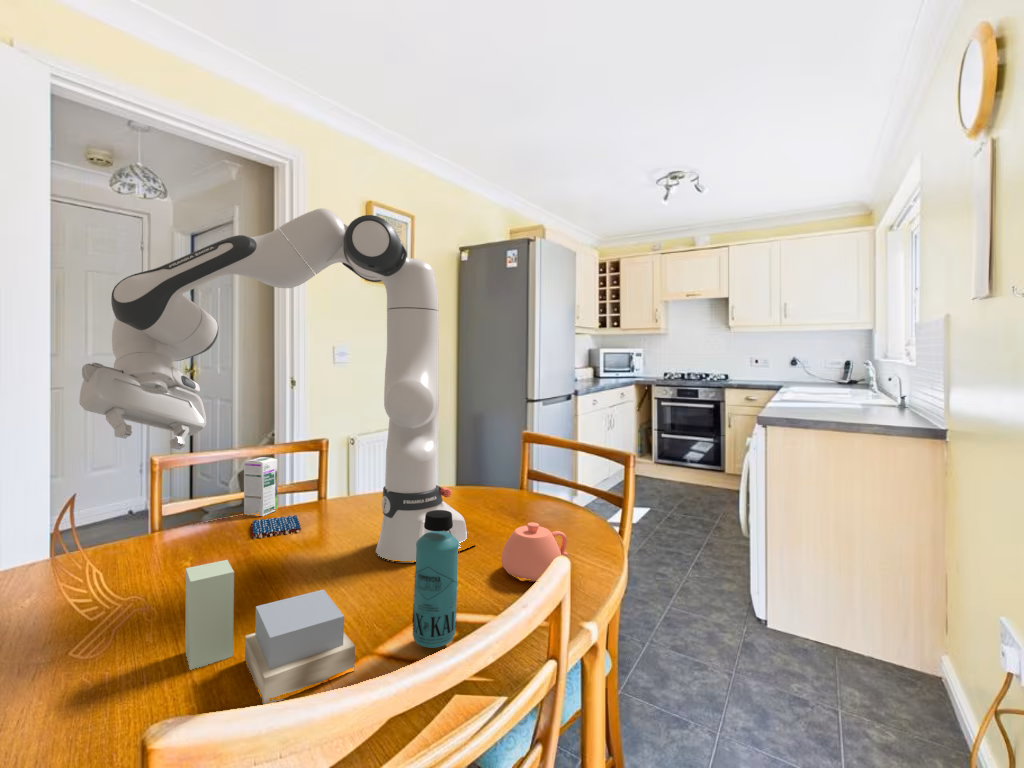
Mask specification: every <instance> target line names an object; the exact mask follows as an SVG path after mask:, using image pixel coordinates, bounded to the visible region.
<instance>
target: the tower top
mask: <svg viewBox="0 0 1024 768" xmlns="http://www.w3.org/2000/svg"><path fill="white" fill-rule="evenodd" d="M344 628H345V615H344V614H343V613H342V611H341V610H340V609H339V607H338V606H337V605H336V604H335V602H334V601H333V600H332V598H331V597H330V595H328V593H327V591H326V590H325V589H321V590H315V591H312V592H308V593H304V594H299V595H296V596H292V597H288V598H283V599H280V600H276V601H273V602H268V603H264V604H260V605H257V606H255V629H254V630H255V632H254V633H255V636H256V638H257V640H258V643H259V645H260V648H261V650H262V653H263V655H264V658H265V660H266V663H267V665H268V668H269V670H270V669H273V668H276V667H279V666H282V665H285V664H288V663H291V662H294V661H297V660H300V659H303V658H306V657H309V656H312V655H315V654H318V653H321V652H324V651H327V650H330V649H333V648H336V647H339V646H342V645H343V638H344V633H345V632H344V630H345V629H344Z"/></svg>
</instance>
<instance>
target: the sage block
mask: <svg viewBox="0 0 1024 768" xmlns="http://www.w3.org/2000/svg"><path fill="white" fill-rule="evenodd" d="M234 597H235V571H234V569H233V567H232V565H231V563H230V562H229V560H228V559H224V560H219V561H214V562H211V563H204V564H201V565H200V564H199V565H196V566H195V565H194V566H189V567H185V620H184V622H185V630H184V631H185V632H184V633H185V635H184V636H185V637H184V639H185V640H184V641H185V642H184V647H185V648H184V649H185V651H184V652H185V653H186V654H185V653H184V654H185V656H186V657H187V658H186V657H185V658H186V661H188V662H187V665H189V666H188V670H189V669H190V670H191V671H193V670H192V669H194V670H196V669H195V668H197V669H199V667H200V668H202V667H203V668H204V667H206V666H208V664H209V665H212V664H215V663H218V662H221V661H224V660H227V659H230V658H229V657H231V658H233V657H234V618H235V617H234V615H235V613H234V611H235V609H234V608H235V607H234V606H235V605H234V604H235V598H234ZM232 656H233V657H232ZM220 660H221V661H220ZM217 661H218V662H217ZM214 662H215V663H214ZM190 670H189V671H190Z"/></svg>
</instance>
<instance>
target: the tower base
mask: <svg viewBox="0 0 1024 768" xmlns="http://www.w3.org/2000/svg"><path fill="white" fill-rule="evenodd" d="M244 639H245V640H244V662H245V661H246V663H247V665H246V667H247V666H248V667H247V669H248V668H249V670H248V672H249V671H250V672H249V674H250V673H251V675H252V677H253V679H252V681H253V680H254V682H255V684H256V686H257V687H258V689H259V692H260V694H261V697H262V700H263V701H261V703H262V705H263V704H266V703H270V702H275V701H279V702H281V701H283V700H285V699H280V700H273V699H272V701H269V700H270V698H274V697H277V696H280V695H282V694H283V695H284V694H286V693H290V692H293V691H296V690H300V689H302V688H304V687H305V686H309V685H313V684H315V683H319V682H323V681H324V680H327V679H328V678H330V677H331V676H333V675H335V674H338V673H341V672H344V671H346V670H348V669H350V668H353V667H354V668H355V663H356V660H355V657H356V656H355V655H356V645H355V644H354V643H353V641H352V640H351V639H350V637H349V636H348V635H347V634H346V633H345V632H344V638H343V645H342V646H339V647H336V648H333V649H330V650H327V651H324V652H321V653H318V654H315V655H312V656H309V657H306V658H303V659H300V660H297V661H294V662H291V663H288V664H285V665H282V666H279V667H276V668H273V669H270V670H269V668H268V665H267V663H266V660H265V658H264V655H263V653H262V650H261V648H260V645H259V643H258V640H257V638H256V636H255V632H253V633H250V634H245V636H244ZM246 663H245V664H246ZM251 675H250V676H251ZM252 677H251V678H252ZM254 682H253V683H254ZM255 684H254V685H255ZM256 686H255V687H256Z"/></svg>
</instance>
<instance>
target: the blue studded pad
mask: <svg viewBox="0 0 1024 768" xmlns="http://www.w3.org/2000/svg"><path fill="white" fill-rule="evenodd" d="M249 528H250V530H251V534H250V535H251V537H253V540H256V539H257V538H258V539H263V538H264V539H267V538H268V536H269V535H270V536H269V537H270V538H271V537H273V535H274V534H275V535H278V536H279V535H280V534H281V535H280V536H283V535H286V534H287V535H289V534H291V533H290V532H293V533H294V532H295V533H296V532H299V533H300V531H301V530H302V528H301V524H300V521H299V518H298V515H296V514H294V515H287V516H280V517H272V518H271V517H269V518H266V519H264V518H262V519H255V520H253V521H252V523H250V527H249ZM282 534H283V535H282ZM275 535H274V536H275Z"/></svg>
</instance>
